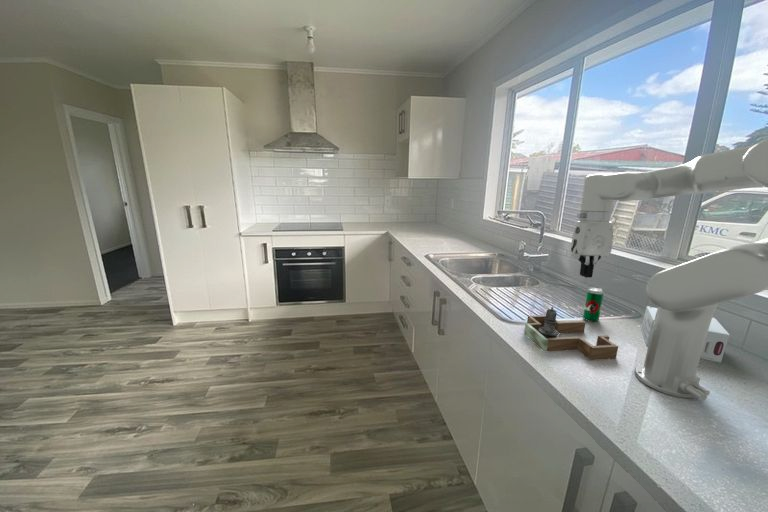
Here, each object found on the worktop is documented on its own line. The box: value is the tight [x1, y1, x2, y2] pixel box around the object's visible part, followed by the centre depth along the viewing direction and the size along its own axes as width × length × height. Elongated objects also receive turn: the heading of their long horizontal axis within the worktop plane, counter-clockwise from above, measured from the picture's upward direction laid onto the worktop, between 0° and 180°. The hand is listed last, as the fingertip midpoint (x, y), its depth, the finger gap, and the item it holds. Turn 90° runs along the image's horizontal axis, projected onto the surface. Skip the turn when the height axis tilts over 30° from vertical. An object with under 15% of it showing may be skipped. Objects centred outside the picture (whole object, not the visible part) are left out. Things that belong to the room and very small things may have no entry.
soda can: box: [582, 287, 605, 323], centre depth 112 cm, size 5×5×12 cm
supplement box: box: [640, 305, 731, 363], centre depth 95 cm, size 17×13×9 cm
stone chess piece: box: [539, 306, 560, 338], centre depth 97 cm, size 6×6×12 cm
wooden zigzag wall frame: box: [523, 314, 619, 361], centre depth 98 cm, size 22×21×4 cm
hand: (585, 276), depth 93 cm, fingers closed
